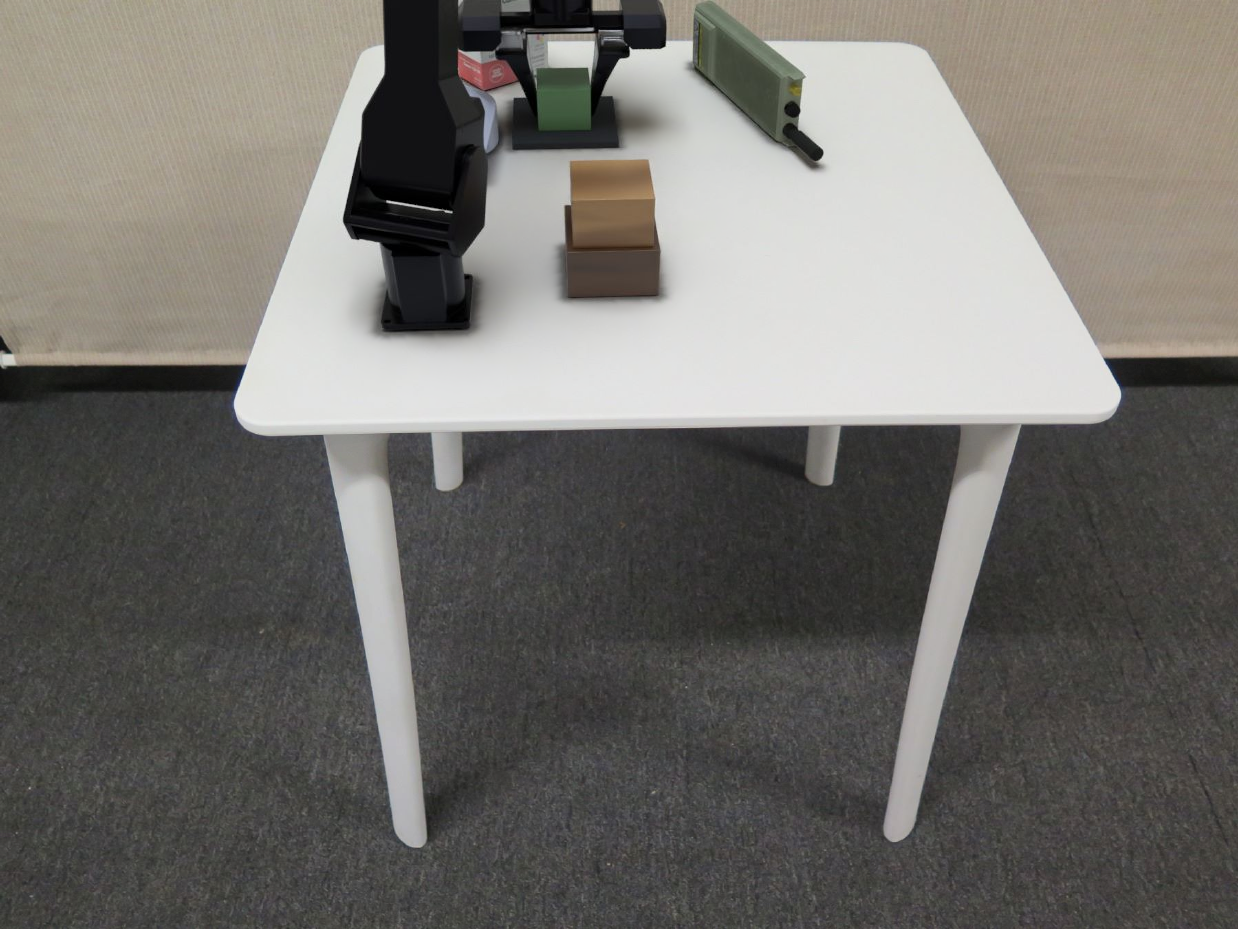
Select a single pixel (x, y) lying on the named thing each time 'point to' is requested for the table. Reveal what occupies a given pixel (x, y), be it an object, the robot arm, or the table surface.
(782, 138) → the handheld radio
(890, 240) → the table surface
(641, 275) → the walnut block
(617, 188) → the oak block
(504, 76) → the ink cartridge box
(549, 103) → the green block
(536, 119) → the mat
